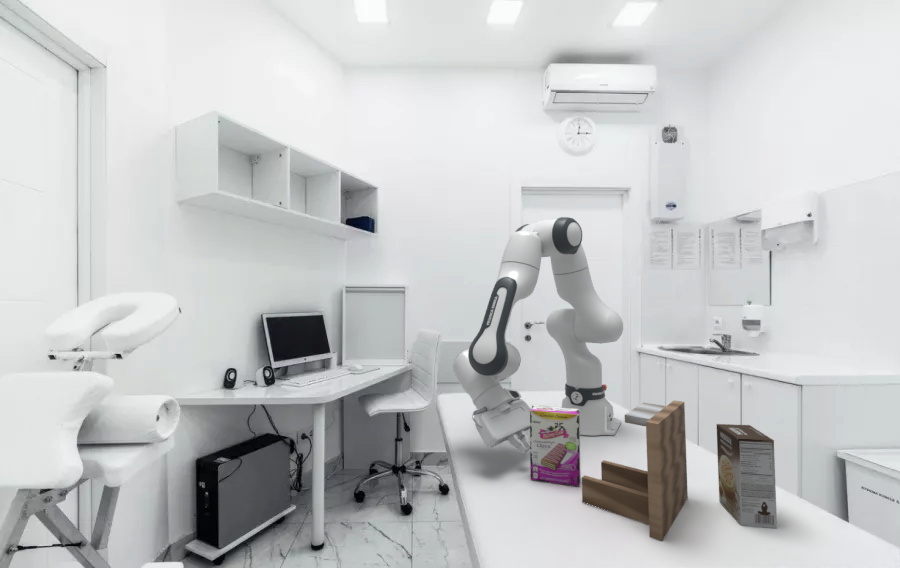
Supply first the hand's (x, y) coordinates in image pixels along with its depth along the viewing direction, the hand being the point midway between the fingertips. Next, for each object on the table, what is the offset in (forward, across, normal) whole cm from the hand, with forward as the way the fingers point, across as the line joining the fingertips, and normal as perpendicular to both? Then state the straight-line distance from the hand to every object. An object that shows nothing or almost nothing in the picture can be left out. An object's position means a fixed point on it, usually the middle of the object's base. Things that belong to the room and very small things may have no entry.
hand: (527, 450), depth 98 cm
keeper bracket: (+20, 0, -13) cm, 24 cm away
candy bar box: (+9, 0, -2) cm, 9 cm away
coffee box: (+34, +10, -26) cm, 44 cm away
